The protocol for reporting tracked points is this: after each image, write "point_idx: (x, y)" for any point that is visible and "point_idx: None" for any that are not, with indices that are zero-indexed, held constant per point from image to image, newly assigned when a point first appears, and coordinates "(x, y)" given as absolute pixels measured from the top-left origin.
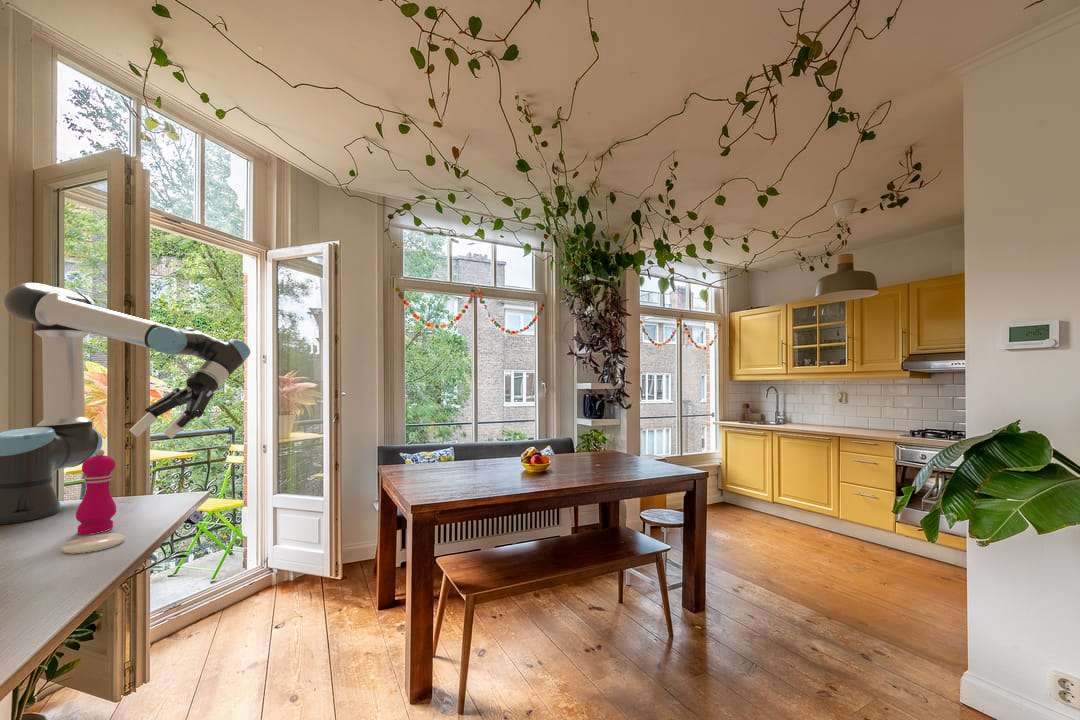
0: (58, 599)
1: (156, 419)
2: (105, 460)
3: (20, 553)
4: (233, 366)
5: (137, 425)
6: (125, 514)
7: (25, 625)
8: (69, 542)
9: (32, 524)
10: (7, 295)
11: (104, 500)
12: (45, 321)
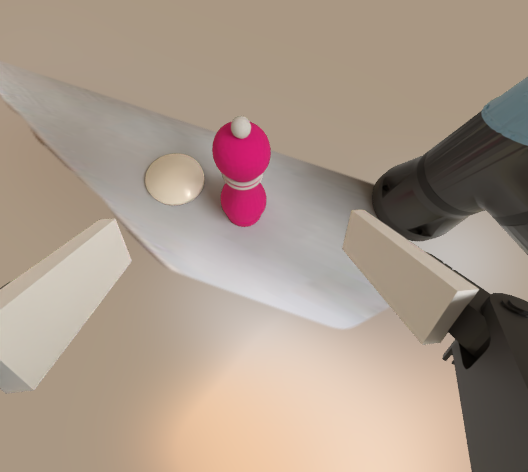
0: (46, 101)
1: (444, 354)
2: (215, 141)
3: None
4: None
5: (369, 230)
6: (298, 269)
7: (20, 74)
8: (197, 164)
9: (350, 194)
10: None
11: (225, 191)
12: None
